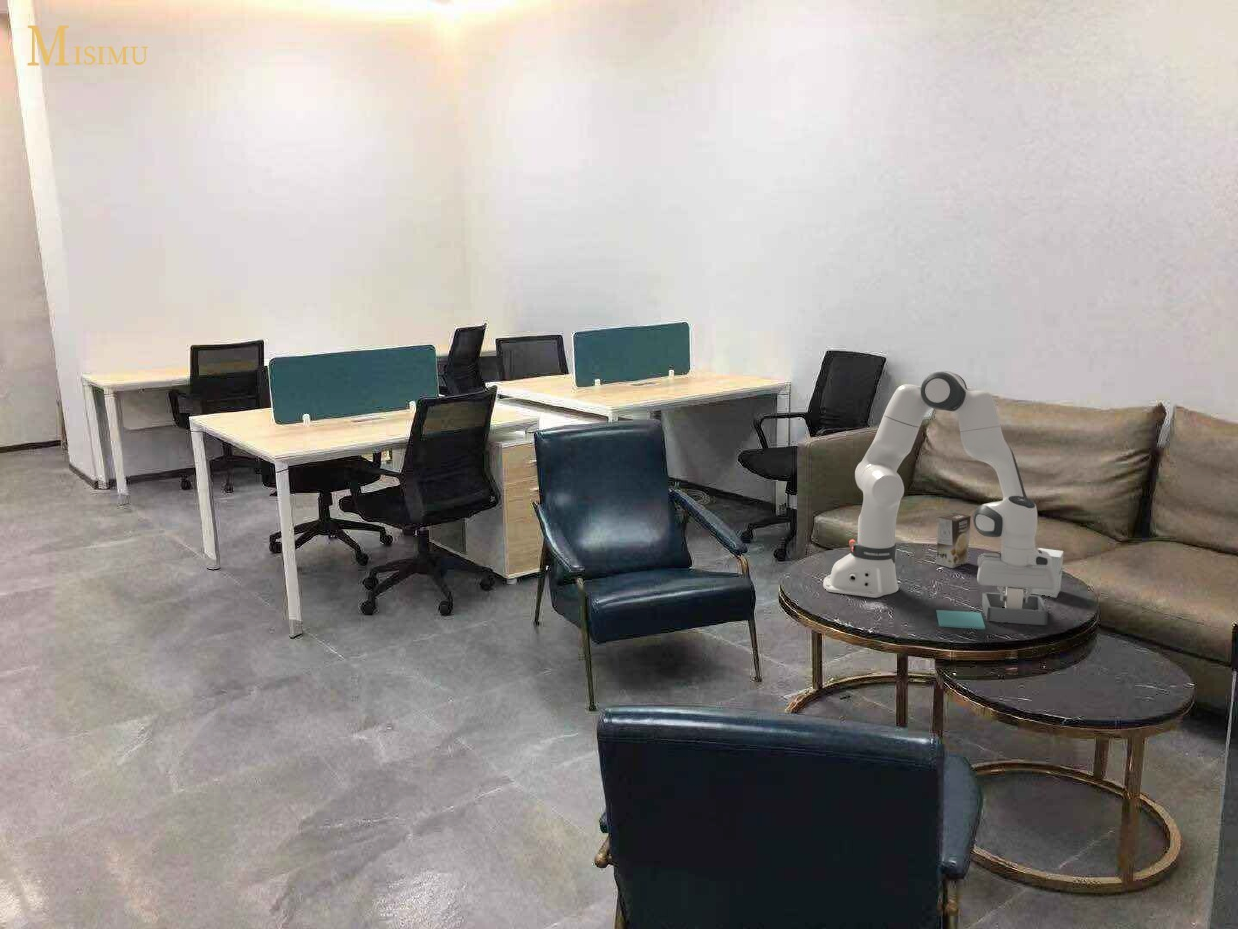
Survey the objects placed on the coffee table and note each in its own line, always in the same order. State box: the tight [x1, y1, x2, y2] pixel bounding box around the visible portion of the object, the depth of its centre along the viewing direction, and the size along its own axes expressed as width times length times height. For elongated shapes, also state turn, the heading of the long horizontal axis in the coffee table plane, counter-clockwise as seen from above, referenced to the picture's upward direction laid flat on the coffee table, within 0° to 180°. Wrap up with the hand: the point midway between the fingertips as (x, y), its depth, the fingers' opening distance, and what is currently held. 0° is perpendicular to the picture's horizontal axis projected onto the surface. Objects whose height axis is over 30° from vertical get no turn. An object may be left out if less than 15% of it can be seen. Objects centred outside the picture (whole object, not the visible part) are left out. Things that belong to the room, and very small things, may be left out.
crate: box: [981, 592, 1049, 626], centre depth 280 cm, size 16×13×4 cm
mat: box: [935, 609, 986, 630], centre depth 277 cm, size 12×11×1 cm
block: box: [1005, 587, 1024, 609], centre depth 279 cm, size 4×4×8 cm
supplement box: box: [1030, 547, 1065, 599], centre depth 296 cm, size 7×7×13 cm
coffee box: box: [935, 512, 972, 569], centre depth 323 cm, size 9×6×16 cm
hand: (1013, 601), depth 279 cm, fingers closed on block, 4 cm apart
